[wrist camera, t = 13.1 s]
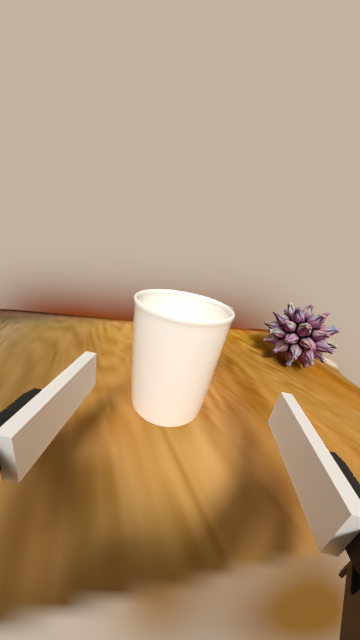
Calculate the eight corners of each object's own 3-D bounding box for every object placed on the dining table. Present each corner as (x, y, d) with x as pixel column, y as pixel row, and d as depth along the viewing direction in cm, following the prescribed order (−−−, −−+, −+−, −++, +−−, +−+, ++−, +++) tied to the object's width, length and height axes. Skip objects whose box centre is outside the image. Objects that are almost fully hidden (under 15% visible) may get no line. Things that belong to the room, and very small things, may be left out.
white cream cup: (131, 369, 27) (141, 284, 23) (200, 376, 28) (220, 297, 24) (113, 431, 18) (123, 309, 14) (215, 439, 19) (252, 328, 15)
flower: (244, 355, 37) (264, 295, 33) (269, 342, 45) (288, 293, 41) (311, 392, 30) (348, 320, 26) (326, 369, 38) (356, 311, 34)
